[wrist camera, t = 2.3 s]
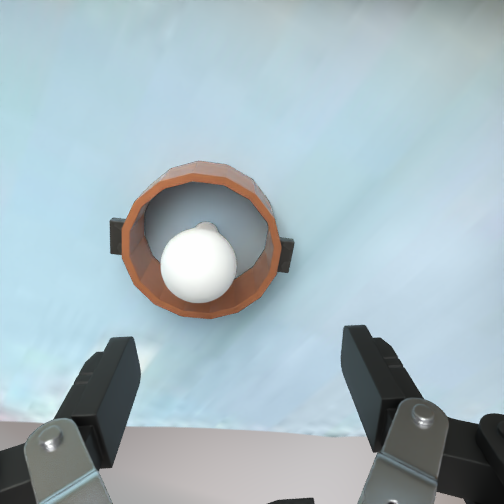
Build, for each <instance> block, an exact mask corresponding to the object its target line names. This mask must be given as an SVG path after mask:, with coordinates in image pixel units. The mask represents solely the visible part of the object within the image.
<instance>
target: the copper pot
mask: <svg viewBox="0 0 504 504" xmlns="http://www.w3.org/2000/svg"><path fill="white" fill-rule="evenodd" d="M192 181H194V182H202V183H209V184H217V185H224V186H226V187H228V188H229V189H231V190H233V191H235V192H236V193H238V194H240V195H242V196H244V197H245V198H247V199H249V200H250V201H251V202H252V203H253V205H254V206H255V207H256V209H257V210H258V211H259V212H260V214H261V215H262V216H263V218H264V219H265V220H266V221H267V223H268V232H267V238H266V244H265V249H264V251H263V252H262V254H261V255H260V257H259V258H258V260H257V261H256V263H255V264H254V266H253V267H252V268H251V269H249V270H248V271H246V272H245V273H243V274H242V275H241V276H239V277H238V278H236V279H235V280H233V283H232V284H231V286H230V287H229V289H228V290H227V291H226V292H225V293H224V294H223V295H222V296H220V297H219V298H217V299H215V300H213V301H210V302H206V303H191V302H187V301H184V300H182V299H180V298H178V297H177V296H175V295H174V294H173V293H172V292H171V291H170V290H169V289H168V288H167V286H166V285H165V282H164V280H163V277H162V274H161V264H160V263H159V261H158V260H157V259H156V258H155V257H154V256H153V255H152V252H151V250H150V247H149V245H148V243H147V240H146V238H145V235H144V230H145V211H146V209H147V207H148V205H149V203H150V200H151V199H152V198H154V197H155V196H156V195H157V194H159V193H160V192H161V191H162V190H164V189H166V188H170V187H174V186H177V185H181V184H185V183H189V182H192ZM293 248H294V240H293V239H289V238H281V237H279V234H278V230H277V226H276V222H275V218H274V215H273V211H272V208H271V205H270V202H269V200H268V199H267V197H266V196H265V195H264V194H263V192H262V191H261V190H260V188H259V187H258V186H257V184H256V183H255V182H254V180H253V179H251V178H250V177H248V176H246V175H245V174H243V173H241V172H239V171H238V170H236V169H234V168H233V167H231V166H229V165H226V164H219V163H212V162H204V161H196V162H192V163H188V164H185V165H181V166H177V167H174V168H171V169H169V170H168V171H167V172H165V173H164V174H163V175H162V176H161V177H159V178H158V179H157V180H156V181H154V182H153V183H152V184H151V185H150V186H149V187H148V188H147V189H146V190H145V191H144V192H143V193H142V194H141V195H140V196H139V197H138V198H137V199H136V200H135V202H134V203H133V206H132V208H131V210H130V212H129V214H128V216H127V218H126V219H121V218H112V219H111V220H110V253H111V254H117V255H122V259H123V262H124V264H125V266H126V268H127V270H128V273H129V275H130V277H131V279H132V281H133V284H134V285H135V286H136V287H137V288H138V289H139V290H140V291H141V292H142V293H143V294H144V295H145V296H146V297H147V298H148V299H149V300H150V301H152V302H153V303H154V304H155V305H157V306H159V307H162V308H164V309H166V310H168V311H171V312H173V313H175V314H177V315H179V316H183V317H193V318H204V319H213V318H217V317H222V316H226V315H230V314H234V313H238V312H239V311H241V310H242V309H244V308H245V307H247V306H248V305H250V304H251V303H253V302H254V301H256V300H257V299H259V298H260V297H261V296H262V295H263V293H264V292H265V290H266V289H267V287H268V286H269V285H270V283H271V282H272V280H273V279H274V277H275V276H276V274H277V272H284V273H288V272H289V267H290V262H291V258H292V253H293Z"/></svg>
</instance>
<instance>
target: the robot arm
mask: <svg viewBox="0 0 504 504" xmlns="http://www.w3.org/2000/svg"><path fill="white" fill-rule="evenodd" d="M341 367H342V372H343V375H344V378H345V380H346V383H347V386H348V388H349V391H350V394H351V396H352V399H353V401H354V404H355V407H356V409H357V412H358V414H359V417H360V420H361V422H362V425H363V427H364V430H365V433H366V435H367V438H368V440H369V443H370V446H371V448H372V451H373V452H378V453H377V455H376V458H375V460H374V463H373V465H372V468H371V470H370V473H369V475H368V478H367V480H366V483H365V486H364V488H363V491H362V494H361V496H360V498H359V501H358V504H434V501H435V496H436V492H440V493H444V494H447V495H451V496H455V497H459V498H463V499H464V501H465V502H466V504H504V415H502V414H495V413H493V414H487V415H485V416H483V417H482V418H481V420H480V423H479V424H475V423H470V422H465V421H461V420H456V419H452V418H449V417H447V416H446V414H445V413H444V412H443V411H442V410H441V409H440V408H439V407H438V406H437V405H435V404H434V403H432V402H430V401H428V400H425V399H424V398H423V397H422V395H421V394H420V392H419V390H418V389H417V387H416V385H415V384H414V382H413V381H412V379H411V377H410V376H409V374H408V372H407V371H406V369H405V368H404V367H403V364H402V363H401V361H400V360H399V359H398V356H397V355H396V353H395V351H394V350H393V348H392V347H391V346H390V345H389V344H388V343H387V342H385V341H384V340H383V339H382V338H372V336H371V334H370V332H369V330H368V329H367V327H366V326H365V325H351V326H344V329H343V339H342V350H341ZM140 377H141V370H140V364H139V360H138V355H137V350H136V345H135V341H134V338H133V337H113V338H111V339H110V340H109V342H108V344H107V346H106V348H105V350H104V352H96V353H95V354H94V355H93V356H92V357H91V358H90V359H88V360H87V361H86V362H85V364H84V366H83V367H82V369H81V371H80V373H79V376H77V378H76V380H75V382H74V385H72V387H71V389H70V391H69V392H68V394H67V396H66V398H65V400H64V401H63V403H62V405H61V407H60V409H59V410H58V412H57V414H56V416H55V417H54V419H53V420H51V421H49V422H47V423H45V424H43V425H41V426H40V427H39V428H37V429H36V430H35V431H34V432H33V433H32V434H31V435H30V436H29V437H28V439H27V441H26V442H25V443H24V444H21V445H18V446H15V447H12V448H8V449H6V450H2V451H0V504H113V503H112V501H111V499H110V496H109V494H108V492H107V489H106V487H105V485H104V483H103V481H102V478H101V476H100V474H99V469H100V468H101V469H102V468H112V466H113V463H114V460H115V457H116V454H117V451H118V448H119V445H120V442H121V439H122V436H123V433H124V430H125V427H126V424H127V421H128V418H129V415H130V412H131V409H132V406H133V403H134V400H135V396H136V393H137V390H138V387H139V384H140ZM268 504H314V499H313V498H301V499H286V500H277V501H274V502H271V503H268Z"/></svg>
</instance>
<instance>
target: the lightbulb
mask: <svg viewBox="0 0 504 504" xmlns="http://www.w3.org/2000/svg"><path fill="white" fill-rule="evenodd" d="M236 270H237V262H236V256H235V252H234V250H233V249H232V247H231V245H230V243H229V242H228V241H227V240H226V239H225V238H224V237H223V236H222V235H220V234H219V232H218V229H217V227H216V226H215V225H214V224H212V223H210V222H201V223H199V224H198V225H197V226H196V227H195V228H192V229H188V230H185V231H183V232H181V233H179V234H178V235H176V236H175V237H173V238H172V239H171V240H170V241H169V243H168V244H167V245H166V247H165V249H164V251H163V254H162V257H161V274H162V277H163V280H164V282H165V285H166V286H167V288H168V289H169V290H170V291H171V292H172V293H173V294H174V295H175V296H177V297H178V298H180V299H182V300H184V301H187V302H191V303H206V302H210V301H213V300H215V299H217V298H219V297H220V296H222V295H223V294H224V293H225V292H226V291H227V290H228V289H229V287H230V286H231V284H232V283H233V280H234V278H235V275H236Z"/></svg>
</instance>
